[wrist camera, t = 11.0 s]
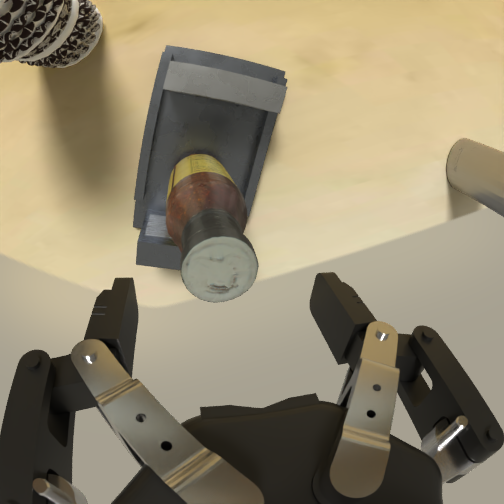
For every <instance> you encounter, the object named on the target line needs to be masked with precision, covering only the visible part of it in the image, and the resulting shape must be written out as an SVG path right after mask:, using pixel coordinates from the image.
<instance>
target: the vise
mask: <svg viewBox="0 0 504 504" xmlns="http://www.w3.org/2000/svg"><path fill="white" fill-rule="evenodd" d="M170 61H176V62H182V63H188V64H194V65H200V66H205V67H210V68H215V69H220V70H225V71H229V72H234V73H238V74H242V75H246V76H250V77H254V78H258V79H261V80H265V81H269V82H272V83H276V84H279V85H282V86H286V82H287V79H285V78H284V75H285V71H281V70H278V69H275V68H271V67H268V66H265V65H261V64H257V63H254V62H250V61H246V60H242V59H238V58H234V57H229V56H225V55H220V54H215V53H210V52H205V51H200V50H194V49H188V48H182V47H175V46H168V45H166V49H165V52H163V53H162V56H161V60H160V64H159V68H158V71H157V75H156V79H155V84H154V88H153V92H152V96H151V101H150V105H149V110H148V115H147V120H146V125H145V130H144V136H143V142H142V147H141V153H140V160H139V166H138V173H137V181H136V188H135V197H134V200H136V202H135V211H134V221H133V227H136V228H141V231H140V235H139V238H138V243H137V256H136V265H144V266H151V267H159V268H167V269H175V270H181V269H180V260H181V254H182V253H181V251H180V249H179V247H178V246H177V245H176V244H175V243H174V241H173V239H172V238H171V237H170V236H169V234H168V231H167V227H166V201H167V194H168V186H169V180H170V176H171V173H172V171H173V169H174V167H175V165H177V164H178V163H179V162H180V161H181V160H182V159H184V158H185V157H187V156H190V155H191V154H205V155H209V156H211V157H213V158H215V159H217V160H218V161H219V162H220V163H221V164H222V165H223V167H224V168H225V170H226V171H227V172H228V174H229V175H230V177H231V178H232V180H233V182H234V183H235V184H236V186H237V187H238V189H239V190H240V192H241V194H242V195H243V198H244V200H245V203H246V207H247V216H248V217H249V214H250V211H251V207H252V203H253V200H254V196H255V192H256V189H257V185H258V181H259V178H260V174H261V171H262V167H263V163H264V160H265V156H266V153H267V149H268V146H269V142H270V138H271V135H272V131H273V128H274V124H275V121H276V117H277V114H278V113H275V112H269V111H265V110H260V109H256V108H252V107H248V106H243V105H239V104H235V103H230V102H226V101H221V100H216V99H211V98H206V97H201V96H195V95H189V94H183V93H177V92H172V91H167V90H164V89H163V86H164V82H165V78H166V74H167V71H168V67H169V63H170Z"/></svg>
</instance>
